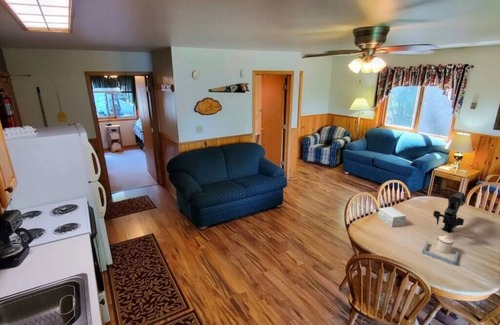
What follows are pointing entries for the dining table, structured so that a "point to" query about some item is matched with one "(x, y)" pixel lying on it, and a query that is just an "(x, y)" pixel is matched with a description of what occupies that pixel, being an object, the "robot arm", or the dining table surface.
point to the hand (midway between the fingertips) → (444, 226)
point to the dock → (439, 256)
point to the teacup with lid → (444, 244)
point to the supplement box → (391, 216)
